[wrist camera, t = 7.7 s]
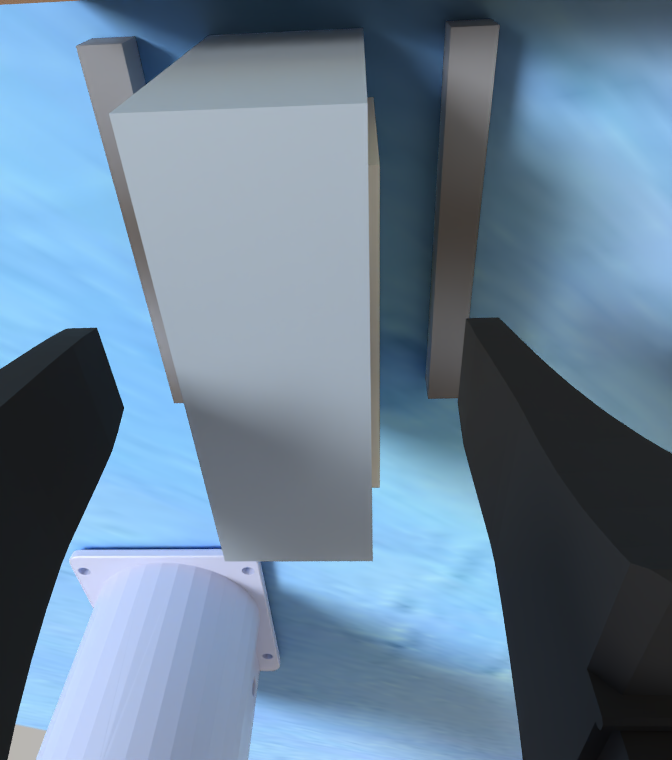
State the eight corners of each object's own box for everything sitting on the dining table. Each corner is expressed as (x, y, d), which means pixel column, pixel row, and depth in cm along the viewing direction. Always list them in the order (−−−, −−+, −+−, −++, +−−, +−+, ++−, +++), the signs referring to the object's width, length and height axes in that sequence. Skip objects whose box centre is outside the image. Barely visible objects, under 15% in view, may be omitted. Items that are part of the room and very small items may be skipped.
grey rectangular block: (374, 379, 20) (381, 560, 14) (262, 381, 20) (224, 561, 14) (372, 26, 13) (382, 103, 8) (209, 34, 14) (108, 113, 8)
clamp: (728, 373, 19) (797, 457, 16) (166, 383, 20) (133, 464, 17) (979, -195, 11) (1207, -236, 8) (22, -133, 12) (-88, -151, 9)
